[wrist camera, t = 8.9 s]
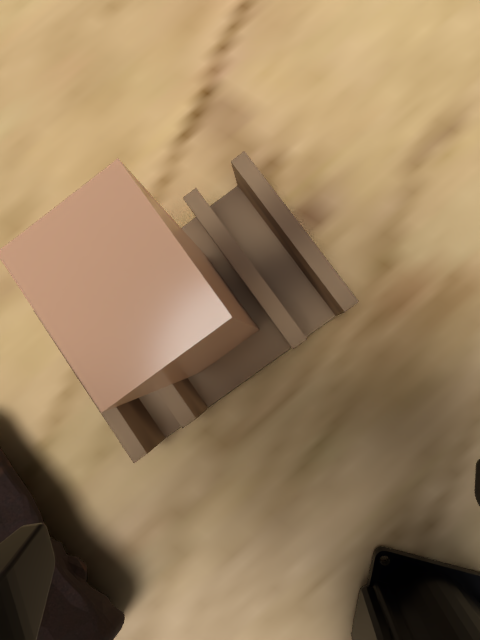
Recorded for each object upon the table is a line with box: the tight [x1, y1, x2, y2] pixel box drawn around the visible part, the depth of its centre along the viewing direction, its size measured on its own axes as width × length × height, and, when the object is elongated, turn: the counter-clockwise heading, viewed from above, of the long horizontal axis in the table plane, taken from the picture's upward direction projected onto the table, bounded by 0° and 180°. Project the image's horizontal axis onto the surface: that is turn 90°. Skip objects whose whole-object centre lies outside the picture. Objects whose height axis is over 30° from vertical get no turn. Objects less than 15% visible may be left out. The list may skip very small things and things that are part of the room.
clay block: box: [0, 158, 260, 413], centre depth 16 cm, size 5×4×12 cm
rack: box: [34, 151, 359, 463], centre depth 21 cm, size 9×13×4 cm
